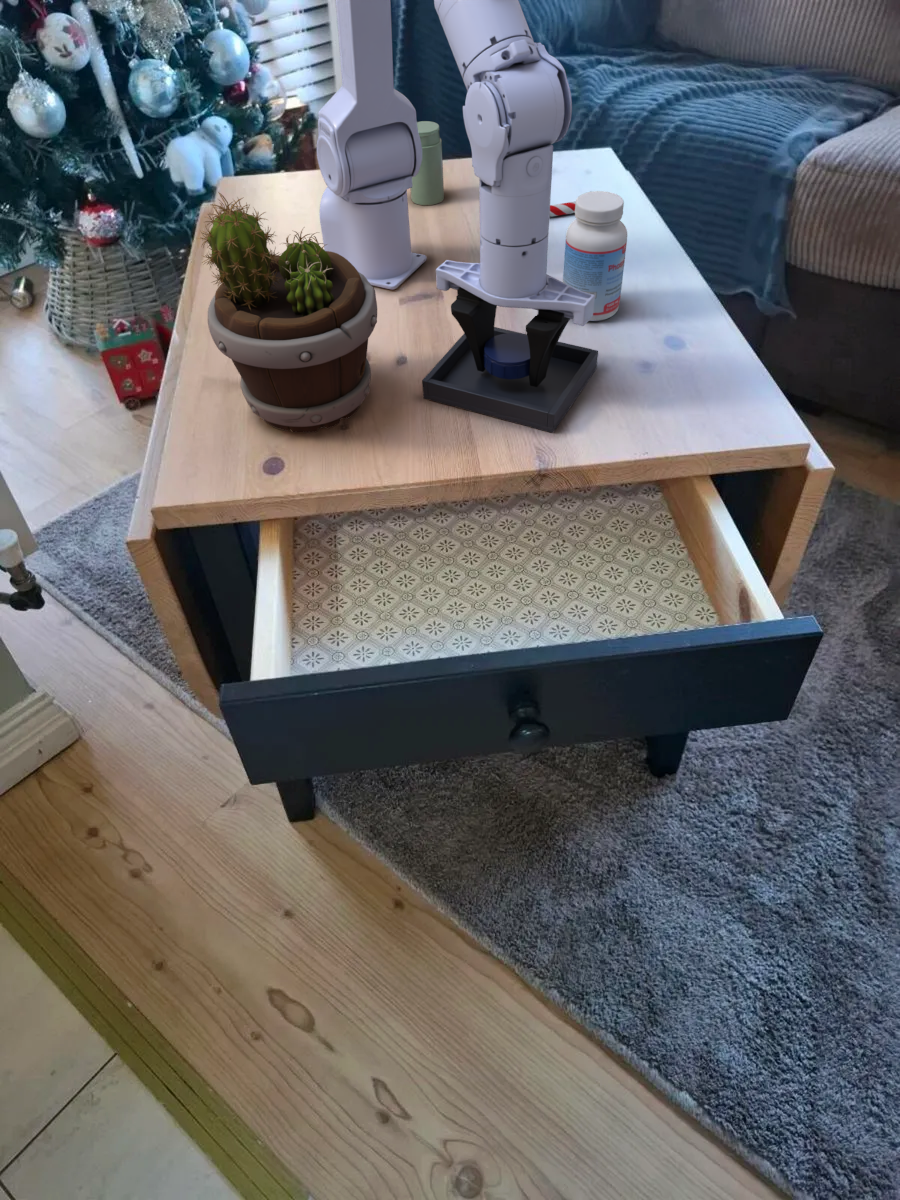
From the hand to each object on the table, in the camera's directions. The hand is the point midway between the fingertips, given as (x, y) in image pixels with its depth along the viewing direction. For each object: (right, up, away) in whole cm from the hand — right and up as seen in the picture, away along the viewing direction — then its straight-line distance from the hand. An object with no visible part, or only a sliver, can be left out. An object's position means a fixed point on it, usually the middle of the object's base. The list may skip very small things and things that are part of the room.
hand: (511, 373), depth 79 cm
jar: (-9, +31, +29) cm, 43 cm away
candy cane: (+7, +28, +27) cm, 40 cm away
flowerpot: (-19, -3, 0) cm, 19 cm away
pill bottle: (+9, +9, +10) cm, 16 cm away
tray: (0, -1, +1) cm, 1 cm away
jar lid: (0, +2, -2) cm, 3 cm away
